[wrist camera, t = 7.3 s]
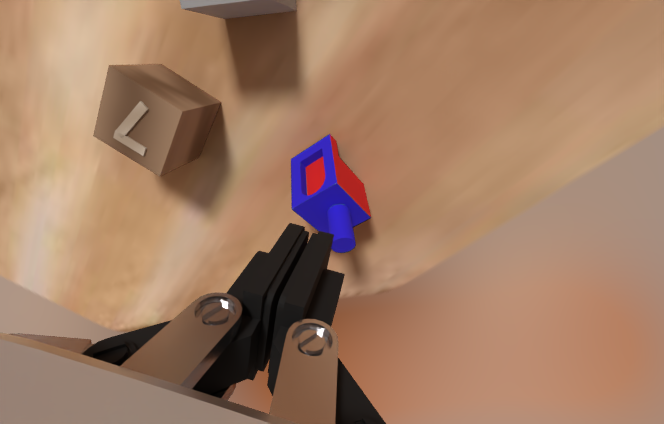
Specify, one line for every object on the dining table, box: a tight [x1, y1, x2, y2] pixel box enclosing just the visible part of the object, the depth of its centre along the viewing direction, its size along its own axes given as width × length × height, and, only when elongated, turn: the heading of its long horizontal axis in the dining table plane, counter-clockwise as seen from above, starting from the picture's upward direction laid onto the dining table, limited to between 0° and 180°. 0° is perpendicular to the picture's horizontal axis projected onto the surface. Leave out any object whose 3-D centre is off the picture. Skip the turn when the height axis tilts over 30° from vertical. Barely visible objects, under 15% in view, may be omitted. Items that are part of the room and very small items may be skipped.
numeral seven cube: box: [93, 64, 221, 176], centre depth 23 cm, size 5×5×5 cm
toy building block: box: [291, 134, 371, 253], centre depth 23 cm, size 4×4×8 cm
